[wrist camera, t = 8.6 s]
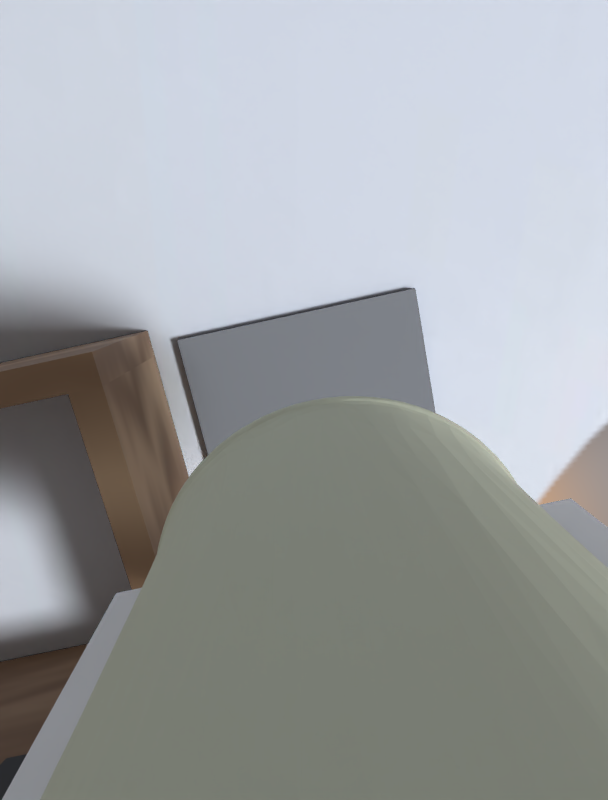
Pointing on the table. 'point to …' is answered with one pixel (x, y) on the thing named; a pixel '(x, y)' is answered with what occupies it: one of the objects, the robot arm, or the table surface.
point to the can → (353, 628)
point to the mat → (307, 362)
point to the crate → (117, 481)
